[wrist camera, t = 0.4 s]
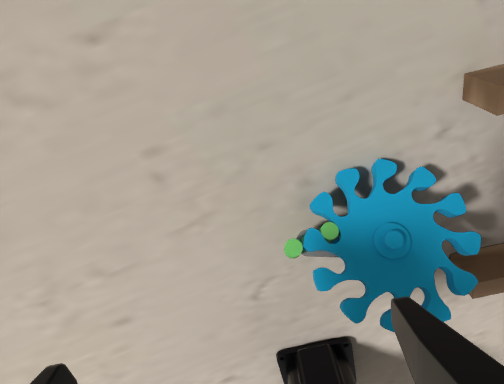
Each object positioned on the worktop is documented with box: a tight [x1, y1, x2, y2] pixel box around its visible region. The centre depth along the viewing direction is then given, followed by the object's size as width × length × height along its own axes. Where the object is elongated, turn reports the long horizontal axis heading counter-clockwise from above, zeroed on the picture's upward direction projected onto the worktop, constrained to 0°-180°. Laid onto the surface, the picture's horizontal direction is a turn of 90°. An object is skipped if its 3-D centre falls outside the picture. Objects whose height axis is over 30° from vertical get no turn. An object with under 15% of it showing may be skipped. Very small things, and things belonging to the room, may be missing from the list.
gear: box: [284, 159, 481, 332], centre depth 23 cm, size 11×6×10 cm
